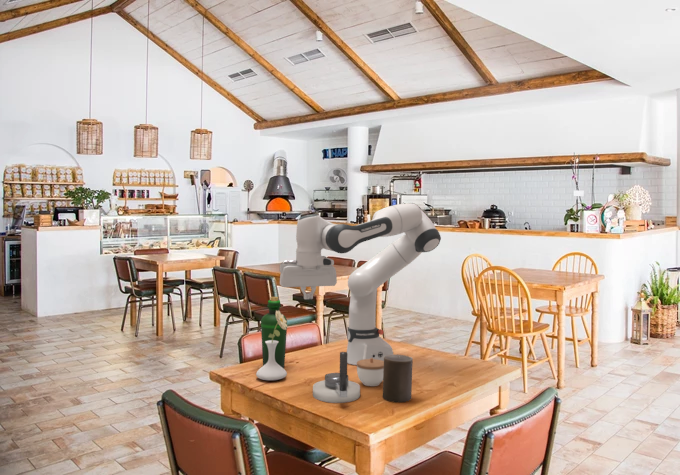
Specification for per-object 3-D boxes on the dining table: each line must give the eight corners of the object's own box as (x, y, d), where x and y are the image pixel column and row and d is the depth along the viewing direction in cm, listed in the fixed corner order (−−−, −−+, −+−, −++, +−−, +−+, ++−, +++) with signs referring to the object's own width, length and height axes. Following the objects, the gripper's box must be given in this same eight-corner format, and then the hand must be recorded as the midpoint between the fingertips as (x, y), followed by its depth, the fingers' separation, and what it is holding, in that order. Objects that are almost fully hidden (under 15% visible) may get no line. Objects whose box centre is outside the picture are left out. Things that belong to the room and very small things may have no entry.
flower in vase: (273, 385, 207) (274, 315, 206) (249, 379, 213) (250, 312, 212) (295, 376, 218) (296, 310, 217) (271, 371, 224) (272, 307, 223)
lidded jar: (365, 389, 203) (366, 363, 203) (351, 381, 213) (351, 356, 212) (391, 386, 208) (392, 360, 208) (376, 378, 218) (376, 353, 217)
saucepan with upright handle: (323, 381, 200) (323, 341, 199) (345, 380, 202) (346, 341, 201) (331, 397, 183) (331, 354, 183) (356, 396, 185) (356, 353, 184)
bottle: (289, 364, 235) (290, 295, 233) (284, 371, 224) (284, 299, 223) (263, 363, 236) (264, 294, 234) (257, 370, 225) (257, 298, 224)
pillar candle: (391, 404, 189) (392, 358, 188) (377, 395, 198) (378, 351, 197) (417, 400, 193) (418, 356, 192) (402, 392, 202) (403, 349, 201)
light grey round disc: (351, 386, 207) (351, 377, 207) (366, 400, 192) (366, 391, 192) (307, 389, 202) (307, 380, 202) (320, 404, 187) (320, 394, 187)
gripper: (281, 261, 199) (281, 301, 200) (338, 260, 205) (337, 299, 206) (277, 259, 205) (277, 298, 206) (333, 259, 211) (332, 296, 212)
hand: (308, 299), depth 206 cm, fingers closed
